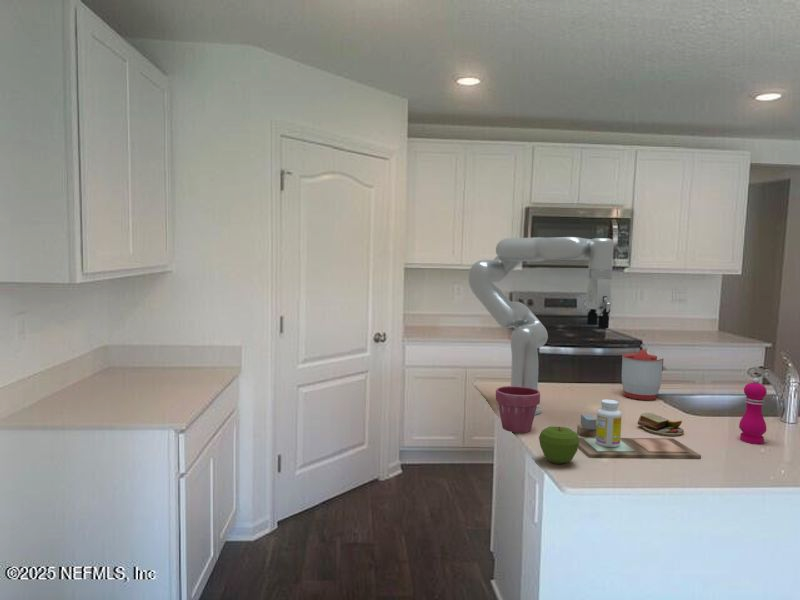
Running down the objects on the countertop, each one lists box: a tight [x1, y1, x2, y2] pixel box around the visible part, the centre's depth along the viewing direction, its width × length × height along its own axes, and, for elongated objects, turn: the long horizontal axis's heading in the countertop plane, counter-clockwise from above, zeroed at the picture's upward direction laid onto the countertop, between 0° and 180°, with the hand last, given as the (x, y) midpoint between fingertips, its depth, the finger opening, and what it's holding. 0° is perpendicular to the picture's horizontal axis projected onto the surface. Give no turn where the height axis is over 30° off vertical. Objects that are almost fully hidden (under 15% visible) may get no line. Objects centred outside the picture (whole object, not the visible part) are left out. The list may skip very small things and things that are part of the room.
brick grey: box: [580, 413, 597, 429], centre depth 178 cm, size 6×3×3 cm, turn 0°
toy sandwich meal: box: [637, 412, 685, 437], centre depth 185 cm, size 12×14×5 cm
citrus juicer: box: [621, 348, 667, 401], centre depth 230 cm, size 16×17×20 cm
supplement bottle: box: [595, 399, 622, 447], centre depth 165 cm, size 7×7×13 cm
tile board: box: [578, 436, 702, 460], centre depth 166 cm, size 32×15×1 cm, turn 92°
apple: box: [538, 425, 580, 465], centre depth 153 cm, size 11×10×10 cm
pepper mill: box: [738, 377, 768, 445], centre depth 176 cm, size 7×7×20 cm
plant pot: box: [495, 385, 541, 434], centre depth 183 cm, size 14×14×13 cm
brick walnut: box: [576, 424, 597, 438], centre depth 178 cm, size 6×3×3 cm, turn 89°
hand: (597, 326), depth 189 cm, fingers open, 9 cm apart
